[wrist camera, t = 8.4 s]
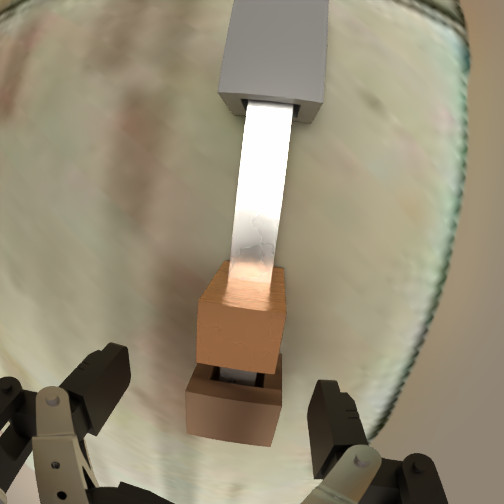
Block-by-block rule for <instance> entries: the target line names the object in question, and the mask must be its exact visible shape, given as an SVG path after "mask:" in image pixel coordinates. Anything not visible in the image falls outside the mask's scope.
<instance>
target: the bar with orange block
mask: <svg viewBox="0 0 504 504" xmlns="http://www.w3.org/2000/svg"><path fill="white" fill-rule="evenodd" d="M292 111H293V104H290V103H283V102H274V101H264V100H253V99H248V106H247V114H246V122H245V130H244V138H243V146H242V155H241V163H240V172H239V180H238V189H237V198H236V207H235V216H234V226H233V235H232V245H231V255H230V261H224V262H223V264H222V265H221V267H220V269H219V270H218V272H217V273H216V275H215V276H214V278H213V279H212V281H211V282H210V284H209V285H208V287H207V288H206V290H205V291H204V293H203V295H202V296H201V298H200V299H199V301H198V318H197V346H196V362H197V363H202V364H208V365H213V366H219V367H221V368H220V381H219V382H225V383H231V384H238V385H245V386H252V387H255V380H256V374H257V372H259V373H267V374H275V370H276V365H277V360H278V355H279V350H280V345H281V339H282V334H283V329H284V324H285V318H286V300H285V285H284V270H283V268H277V267H273V263H274V256H275V249H276V241H277V234H278V227H279V219H280V211H281V204H282V196H283V188H284V180H285V172H286V163H287V155H288V146H289V138H290V129H291V120H292Z"/></svg>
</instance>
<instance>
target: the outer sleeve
mask: <svg viewBox="0 0 504 504" xmlns="http://www.w3.org/2000/svg"><path fill="white" fill-rule="evenodd" d="M328 4H329V0H234V3H233V8H232V13H231V18H230V23H229V28H228V33H227V39H226V44H225V50H224V55H223V61H222V67H221V73H220V80H219V86H218V94H219V95H220V96H221V98H222V99H223V101H224V102H225V104H226V105H227V107H228V108H229V110H230V111H231V113H232V114H233V115H242V116H246V114H247V106H248V99H253V100H264V101H274V102H283V103H290V104H293V111H292V120H291V121H297V122H304V123H310V124H311V123H312V121H313V119H314V117H315V116H316V114H317V112H318V111H319V109H320V107H321V105H322V104H323V96H324V83H325V69H326V53H327V34H328Z"/></svg>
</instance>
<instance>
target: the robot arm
mask: <svg viewBox="0 0 504 504" xmlns="http://www.w3.org/2000/svg"><path fill="white" fill-rule="evenodd" d="M130 379H131V372H130V363H129V354H128V349H127V347H126V346H122V345H119V344H115V343H112V342H110V343H109V344H108V345H107V346H106V347H105V348H104V349H103V350H102V351H100V350H97V351H95V352H93V353H91V354H89V355H88V356H87V357H86V358H85V359H84V360H83V361H82V363H80V364H79V365H78V366H77V368H75V370H74V371H73V372H72V373H71V374H70V375H69V376H68V377H67V378H66V379H65V380H64V381H63V382H62V384H61V385H60V386H59V387H56V386H49V387H45V388H43V389H41V390H40V391H39V392H38V393H37V392H32V391H28V390H23V389H22V386H21V384H20V382H19V380H17V379H16V378H14V377H3V378H0V430H1V429H2V428H3V427H4V425H5V424H6V423H7V422H8V421H9V422H10V425H9V426H8V428H7V429H6V430H5V432H4V433H3V434H2V435H1V437H0V504H7V497H6V492H7V490H8V489H9V487H10V485H11V483H12V482H13V480H14V479H15V477H16V475H17V474H18V472H19V470H20V469H21V467H22V466H23V464H24V463H25V461H26V459H27V458H28V456H29V455H30V453H31V452H32V450H33V458H34V467H35V474H36V481H37V487H38V493H39V498H40V503H41V504H174V503H172V502H170V501H168V500H166V499H164V498H162V497H160V496H158V495H156V494H154V493H152V492H150V491H148V490H145V489H142V488H139V487H136V486H133V485H130V484H127V483H124V482H120V484H119V486H118V488H117V487H99V484H98V482H97V480H96V477H95V475H94V472H93V468H92V465H91V461H90V458H89V454H88V450H87V446H86V442H85V439H84V437H85V435H86V434H87V433H90V434H92V435H94V436H97V435H98V433H99V432H100V430H101V429H102V427H103V425H104V424H105V422H106V421H107V419H108V417H109V416H110V414H111V413H112V411H113V410H114V408H115V406H116V405H117V403H118V402H119V400H120V399H121V397H122V396H123V394H124V392H125V391H126V389H127V388H128V386H129V383H130ZM307 421H308V429H309V438H310V447H311V456H312V465H313V475H314V479H323V481H322V482H321V483H320V484H319V486H318V487H316V488H315V489H314V490H313V491H312V492H311V493H310V494H309V495H308V496H307V497H306V498H305V500H304V501H303V502H302V503H301V504H448V501H447V498H446V495H445V492H444V489H443V486H442V484H441V481H440V478H439V475H438V472H437V470H436V467H435V464H434V462H433V461H432V460H431V458H429V457H428V456H426V455H424V454H420V453H414V454H410V455H409V456H407V457H406V458H405V459H404V460H403V461H397V460H390V459H385V458H382V457H381V456H380V454H379V452H378V451H377V450H375V449H374V448H372V447H370V446H369V445H368V442H367V439H366V436H365V433H364V429H363V426H362V423H361V420H360V419H359V414H358V412H357V407H356V404H355V401H354V400H353V399H352V398H351V397H350V395H349V394H348V393H342V392H340V389H339V386H338V383H337V381H335V380H318V381H317V383H316V386H315V389H314V392H313V395H312V398H311V401H310V404H309V407H308V412H307Z"/></svg>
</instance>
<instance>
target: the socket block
mask: <svg viewBox="0 0 504 504" xmlns="http://www.w3.org/2000/svg"><path fill="white" fill-rule="evenodd" d="M220 368H221V367H219V366H213V365H208V364H202V363H197V365H196V368H195V370H194V372H193V374H192V377H191V379H190V381H189V384H188V386H187V388H186V391H185V398H186V426H187V434H191V435H196V436H201V437H206V438H211V439H216V440H222V441H228V442H234V443H241V444H249V445H257V446H266V447H271V443H272V440H273V437H274V433H275V430H276V426H277V422H278V419H279V415H280V411H281V408H282V354H279V355H278V360H277V365H276V370H275V374H267V373H259V372H257V374H256V380H255V387H252V386H245V385H238V384H231V383H225V382H219V381H220Z"/></svg>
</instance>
